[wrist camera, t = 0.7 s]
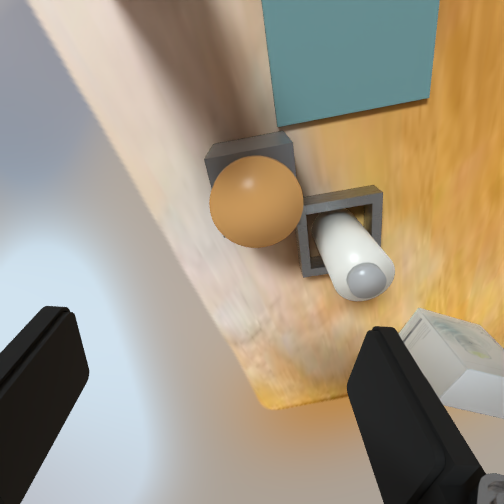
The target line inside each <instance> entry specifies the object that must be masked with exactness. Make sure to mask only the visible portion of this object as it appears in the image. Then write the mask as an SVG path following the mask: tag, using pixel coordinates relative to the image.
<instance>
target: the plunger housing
mask: <svg viewBox="0 0 504 504" xmlns="http://www.w3.org/2000/svg"><path fill="white" fill-rule="evenodd" d="M254 155H255V156H266V157H270V158H273V159H275V160H278V161H280V162H281V163H283V164H284V165H285V166H287V167H288V168H289V169H290V170H291V172H292V173H293V174H294V176H295V177H296V170H295V160H294V150H293V142H292V141H291V140H290V139H289V137H288V136H287V135H286V134H285V133H284V131H280V132H274V133H269V134H264V135H259V136H254V137H248V138H243V139H238V140H233V141H228V142H222V143H217V144H213V146H212V147H211V149H210V150H209V152H208V154H207V155H206V157H205V159H204V161H205V164H206V168H207V172H208V176H209V180H210V184H211V188H213V185H214V182H215V180H216V179H217V177H218V175H219V174H220V173H221V171H222V170H223V169H224V168H225V167H226V166H228V165H229V164H230V163H232V162H234V161H235V160H238V159H240V158H243V157H247V156H254ZM297 225H301V218H300V221H299V223H298V224H297ZM223 236H224V235H223ZM224 238H225V236H224Z"/></svg>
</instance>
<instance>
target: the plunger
mask: <svg viewBox="0 0 504 504" xmlns="http://www.w3.org/2000/svg"><path fill="white" fill-rule="evenodd" d="M209 204H210V213H211V216H212V219H213V222H214V224H215V225H216V227H217V228H218V230H219V231H220V232H221V233H222V234H223V235H224V236H225V237H226V238H227V239H229V240H230V241H232V242H234V243H236V244H238V245H241V246H245V247H251V248H261V247H267V246H271V245H274V244H276V243H278V242H280V241H282V240H283V239H285V238H286V237H287V236H288V235H290V233H291V232H292V231H293V230H294V229H295V227H296V226H297V224H298V223H299V221H300V218H301V215H302V211H303V194H302V190H301V187H300V185H299V183H298V181H297V179H296V177H295V176H294V174H293V173H292V172H291V170H290V169H289V168H288V167H287V166H285V165H284V164H283V163H281V162H280V161H278V160H275V159H273V158H270V157H266V156H255V155H254V156H247V157H243V158H240V159H238V160H235V161H234V162H232V163H230V164H229V165H228V166H226V167H225V168H224V169H223V170H222V171H221V173H220V174H219V175H218V177H217V179H216V180H215V182H214V185H213V188H212V191H211V195H210V202H209Z"/></svg>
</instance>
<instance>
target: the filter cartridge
mask: <svg viewBox="0 0 504 504" xmlns="http://www.w3.org/2000/svg"><path fill="white" fill-rule="evenodd" d="M311 232H312V237H313V239H314V241H315V244H316V246H317V248H318V250H319V253H320V255H321V257H322V260H323V262H324V264H325V267H326V269H327V271H328V273H329V276H330V278H331V280H332V283H333V285H334V287H335V289H336V291H337V292H338V294H339V295H341V296H342V297H343V298H345V299H348V300H352V301H365V300H369V299H372V298H375V297H377V296H379V295H380V294H382V293H383V292H384V291H385V290H386V289H387V288H388V287H389V286H390V284H391V283H392V281H393V279H394V275H395V268H394V264H393V262H392V260H391V259H390V258H389V257H388V256H387V254H386V253H385V252H384V251H383V250H382V248H381V247H380V246H379V245H378V244H377V242H376V241H375V240H374V239H373V238H372V236H371V235H370V234H369V233H368V232H367V230H366V229H365V228H364V227H363V226H362V224H361V223H360V222H359V221H358V220H357V218H356V217H355V216H354V215H353V214H352V213H351V212H350V211H349V210H347V209H345V208H343V209H337V210H331V211H325V212H321V213H320V214H319V215H318V216H317V217H316V219H315V220H314V222H313V224H312V229H311Z"/></svg>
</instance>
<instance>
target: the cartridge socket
mask: <svg viewBox="0 0 504 504" xmlns="http://www.w3.org/2000/svg"><path fill="white" fill-rule="evenodd" d="M382 204H383V192H382V191H381V190H379V189H378V188H377V187H376V186H374V185H371V186H365V187H359V188H354V189H348V190H342V191H336V192H331V193H325V194H319V195H313V196H308V197H303V211H302V215H301V225H297V226H296V227H295V229H296V238H297V247H298V255H299V264H300V269H301V272H302V275H303V278H304V277H310V276H317V275H323V274H329V273H328V271H327V269H326V267H325V264H324V262H323V260H322V257H321V256H317V257H311V258H310V253H309V243H308V232H307V221H306V215H307V214H313V213H319V212H325V211H331V210H337V209H343V208H348V207H354V206H360V205H364V228H365V229H366V230H367V232H368V233H369V234H370V235H371V236H372V238H373V239H374V240H375V241H376V242H377V244H378V245H379V246H380V247H381V227H382Z"/></svg>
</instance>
